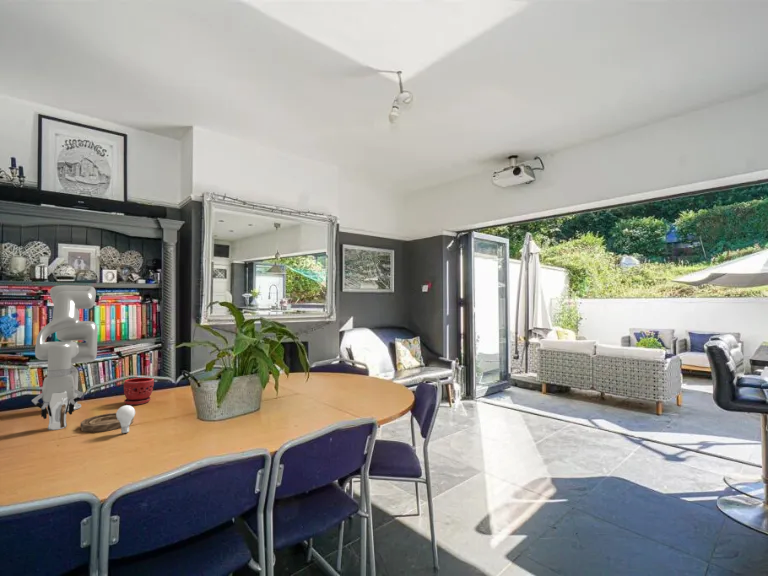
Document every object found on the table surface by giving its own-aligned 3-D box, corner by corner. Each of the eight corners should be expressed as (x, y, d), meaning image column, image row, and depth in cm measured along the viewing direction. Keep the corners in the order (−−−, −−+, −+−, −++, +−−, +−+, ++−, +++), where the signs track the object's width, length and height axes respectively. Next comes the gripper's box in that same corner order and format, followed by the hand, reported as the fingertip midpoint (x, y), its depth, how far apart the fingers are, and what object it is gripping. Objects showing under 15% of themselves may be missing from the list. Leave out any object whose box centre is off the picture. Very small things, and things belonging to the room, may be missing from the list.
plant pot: (142, 406, 191) (143, 382, 192) (117, 406, 192) (117, 382, 192) (158, 399, 204) (159, 377, 205) (134, 399, 205) (135, 376, 205)
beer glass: (55, 431, 154) (56, 393, 155) (41, 429, 156) (43, 392, 156) (72, 425, 161) (73, 389, 162) (59, 424, 163) (60, 389, 163)
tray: (76, 425, 162) (76, 419, 162) (126, 416, 175) (126, 410, 175) (86, 435, 150) (86, 428, 150) (138, 424, 163) (139, 418, 163)
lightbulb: (138, 431, 155) (139, 404, 155) (123, 436, 149) (124, 408, 149) (127, 429, 157) (127, 402, 157) (111, 434, 151) (112, 406, 151)
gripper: (83, 369, 168) (82, 409, 168) (29, 375, 155) (28, 418, 155) (87, 371, 163) (85, 413, 163) (32, 377, 150) (30, 422, 150)
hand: (57, 415), depth 159 cm, fingers open, 7 cm apart
